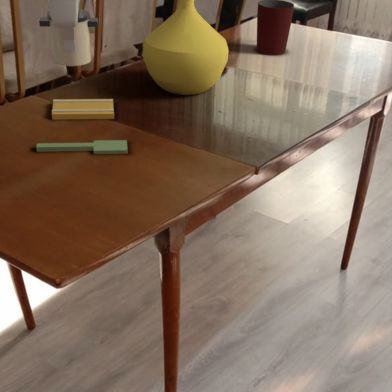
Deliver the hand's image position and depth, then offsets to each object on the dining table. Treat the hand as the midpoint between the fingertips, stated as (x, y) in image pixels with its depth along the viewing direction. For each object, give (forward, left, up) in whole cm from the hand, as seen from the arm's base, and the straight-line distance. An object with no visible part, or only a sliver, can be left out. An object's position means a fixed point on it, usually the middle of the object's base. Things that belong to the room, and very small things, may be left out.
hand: (70, 42), depth 103 cm
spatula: (0, -3, -17) cm, 18 cm away
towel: (0, +15, -17) cm, 23 cm away
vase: (+22, +29, -17) cm, 41 cm away
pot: (0, 0, -3) cm, 3 cm away
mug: (+48, +57, -17) cm, 77 cm away
